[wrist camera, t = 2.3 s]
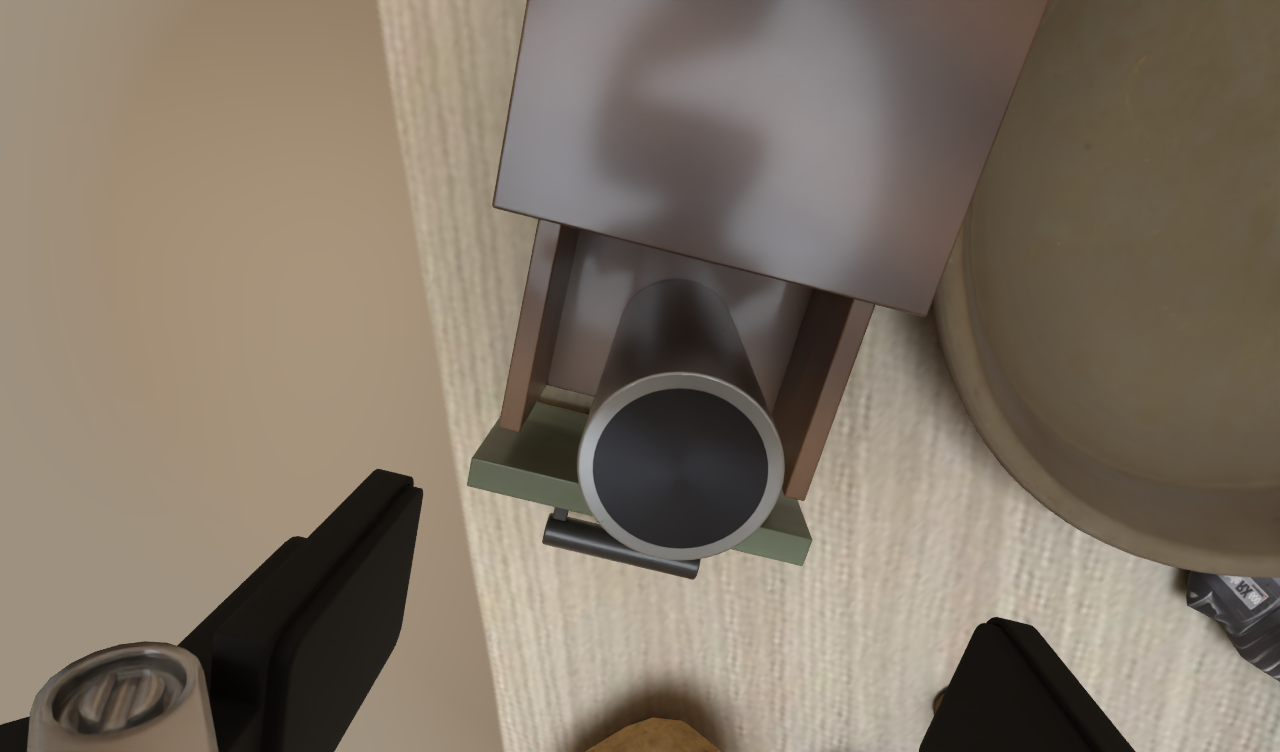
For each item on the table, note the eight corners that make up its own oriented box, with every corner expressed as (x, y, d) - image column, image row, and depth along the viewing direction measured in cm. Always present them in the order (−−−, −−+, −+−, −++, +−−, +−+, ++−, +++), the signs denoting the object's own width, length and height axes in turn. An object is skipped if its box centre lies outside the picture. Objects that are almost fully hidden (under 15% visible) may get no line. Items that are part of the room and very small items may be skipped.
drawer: (749, 560, 33) (768, 657, 26) (493, 499, 32) (449, 582, 26) (874, 197, 27) (937, 207, 21) (568, 118, 27) (536, 103, 20)
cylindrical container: (632, 266, 27) (601, 349, 15) (749, 295, 28) (813, 401, 15) (605, 377, 29) (557, 536, 17) (716, 404, 29) (750, 582, 17)
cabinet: (855, 275, 29) (927, 318, 21) (542, 195, 29) (491, 207, 21) (986, -105, 25) (1143, -239, 17) (619, -206, 24) (593, -395, 16)
